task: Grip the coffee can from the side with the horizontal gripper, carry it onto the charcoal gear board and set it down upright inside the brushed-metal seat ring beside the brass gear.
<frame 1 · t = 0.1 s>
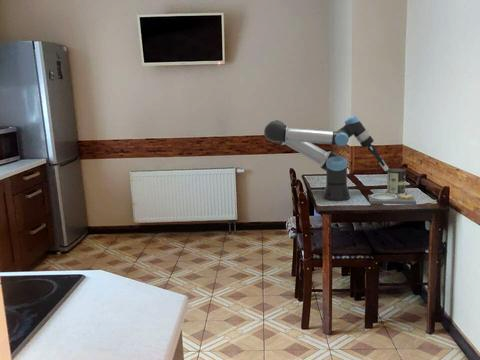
hand: (385, 167, 274), 15 cm above the table, tool tilted 35°, fingers open, 13 cm apart
coffee can: (395, 193, 276), on the table
gear board: (391, 200, 260), on the table
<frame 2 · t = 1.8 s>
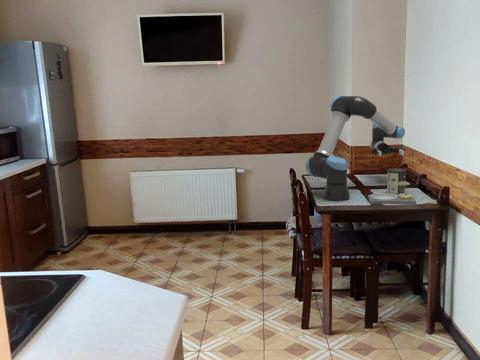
hand: (392, 153, 280), 22 cm above the table, tool horizontal, fingers open, 13 cm apart
nothing on the table moved.
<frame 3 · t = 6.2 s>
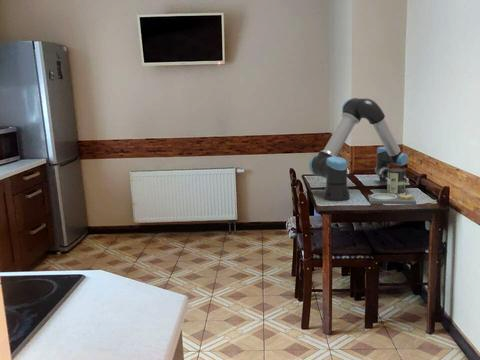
hand: (398, 181, 270), 8 cm above the table, tool horizontal, fingers closed on coffee can, 10 cm apart
coffee can: (395, 193, 276), on the table, touching gripper
when the fingers open (11 cm above the table, at t = 11.2 s): coffee can drops 2 cm, resting on gear board.
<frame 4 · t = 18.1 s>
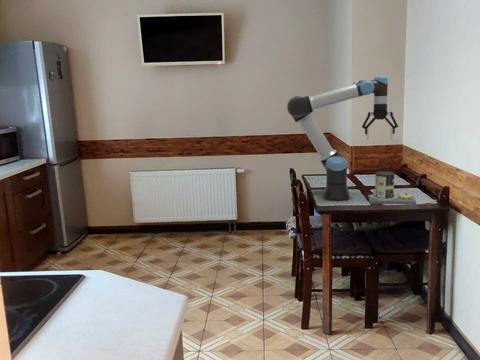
hand: (379, 139, 273), 32 cm above the table, tool pointing down, fingers open, 13 cm apart
coffee can: (383, 197, 260), point 2 cm above the table, touching gear board
at the end: coffee can 0.1 cm from the target spot on the gear board, point 1.6 cm above the gear board's base; coffee can tilted 1°; the gripper is holding nothing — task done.
